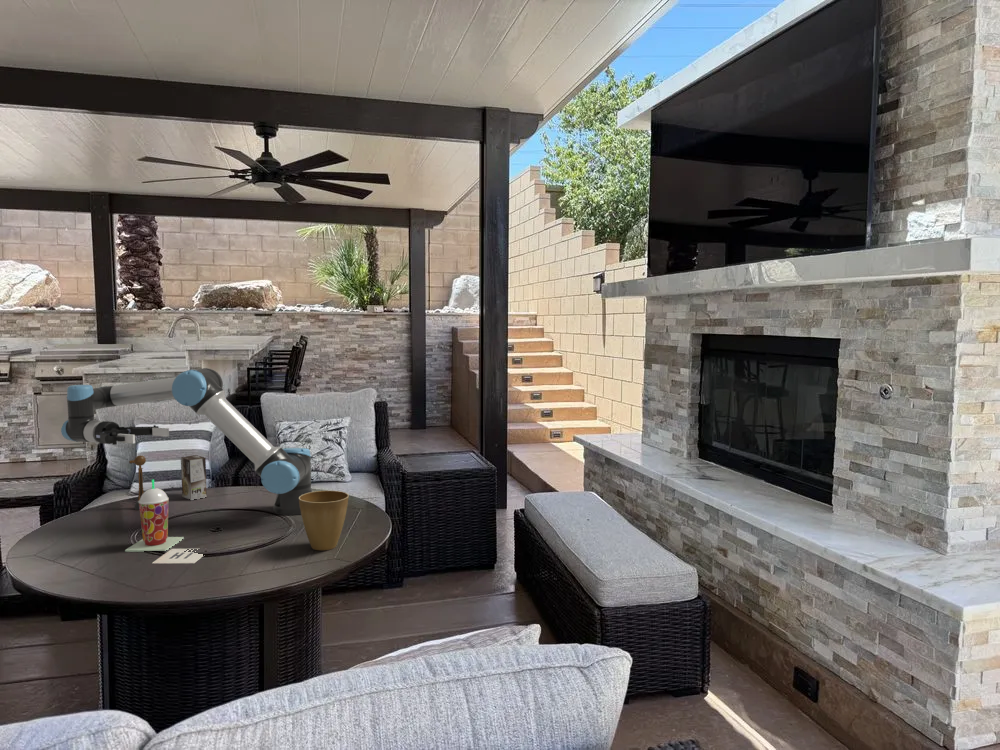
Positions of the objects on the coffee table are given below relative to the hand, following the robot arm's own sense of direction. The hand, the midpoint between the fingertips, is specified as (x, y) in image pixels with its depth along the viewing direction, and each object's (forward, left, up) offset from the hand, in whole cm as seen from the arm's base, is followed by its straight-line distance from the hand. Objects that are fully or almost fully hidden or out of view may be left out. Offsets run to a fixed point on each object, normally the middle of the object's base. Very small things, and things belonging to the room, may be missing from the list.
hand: (151, 435), depth 215 cm
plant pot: (-60, +16, -32) cm, 70 cm away
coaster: (-7, +14, -32) cm, 36 cm away
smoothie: (-7, +14, -32) cm, 35 cm away
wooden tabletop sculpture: (+19, -27, -32) cm, 46 cm away
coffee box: (+6, -43, -32) cm, 54 cm away
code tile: (-20, +24, -32) cm, 45 cm away
